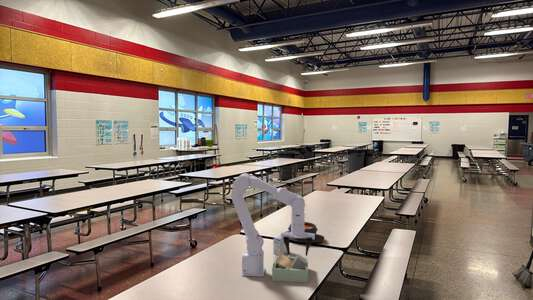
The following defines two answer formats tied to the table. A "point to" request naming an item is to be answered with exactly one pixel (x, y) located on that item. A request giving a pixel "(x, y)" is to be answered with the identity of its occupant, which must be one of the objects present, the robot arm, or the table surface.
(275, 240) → the medicine box
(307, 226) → the casserole
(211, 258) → the table surface
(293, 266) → the gray block
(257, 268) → the robot arm
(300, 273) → the trapdoor frame
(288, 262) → the trapdoor
